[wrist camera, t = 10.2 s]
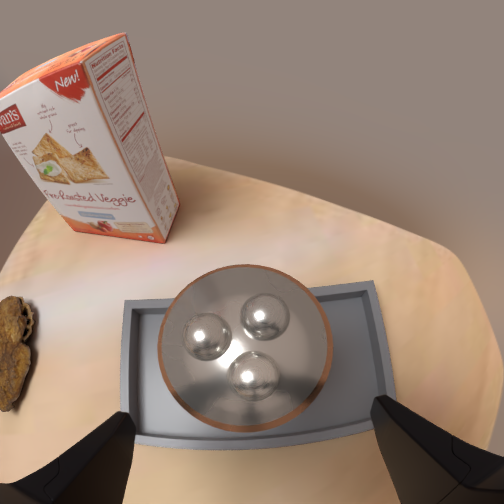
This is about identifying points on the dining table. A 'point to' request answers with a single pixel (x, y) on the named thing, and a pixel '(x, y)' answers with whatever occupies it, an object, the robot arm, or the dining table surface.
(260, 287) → the copper cylinder
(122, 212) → the cracker box
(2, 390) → the decorative rock
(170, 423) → the gray tray
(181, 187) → the dining table surface
